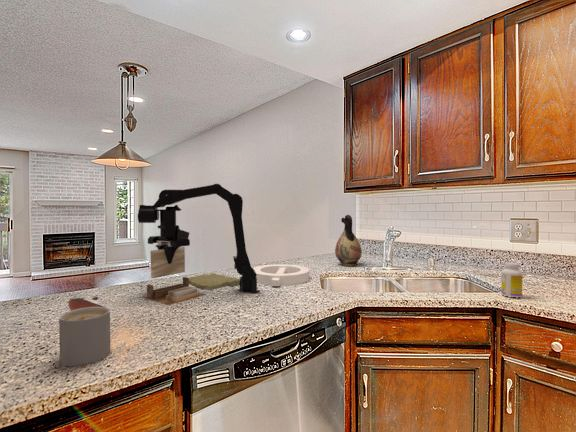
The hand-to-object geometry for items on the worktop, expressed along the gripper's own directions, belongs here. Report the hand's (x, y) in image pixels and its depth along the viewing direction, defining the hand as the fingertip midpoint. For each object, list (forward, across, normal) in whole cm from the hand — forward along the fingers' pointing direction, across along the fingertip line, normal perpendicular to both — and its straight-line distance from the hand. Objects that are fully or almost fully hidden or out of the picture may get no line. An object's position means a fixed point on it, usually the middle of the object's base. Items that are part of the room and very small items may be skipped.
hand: (168, 263), depth 124 cm
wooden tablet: (+14, +11, +24) cm, 30 cm away
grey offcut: (+10, -8, 0) cm, 13 cm away
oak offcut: (+12, -8, 0) cm, 15 cm away
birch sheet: (+4, 0, 0) cm, 4 cm away
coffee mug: (+13, -26, +40) cm, 49 cm away
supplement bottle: (+13, -108, -77) cm, 133 cm away
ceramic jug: (+13, -28, -102) cm, 107 cm away
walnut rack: (+13, -4, 0) cm, 13 cm away
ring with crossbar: (+14, -16, -50) cm, 55 cm away
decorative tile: (+14, +1, -22) cm, 26 cm away
